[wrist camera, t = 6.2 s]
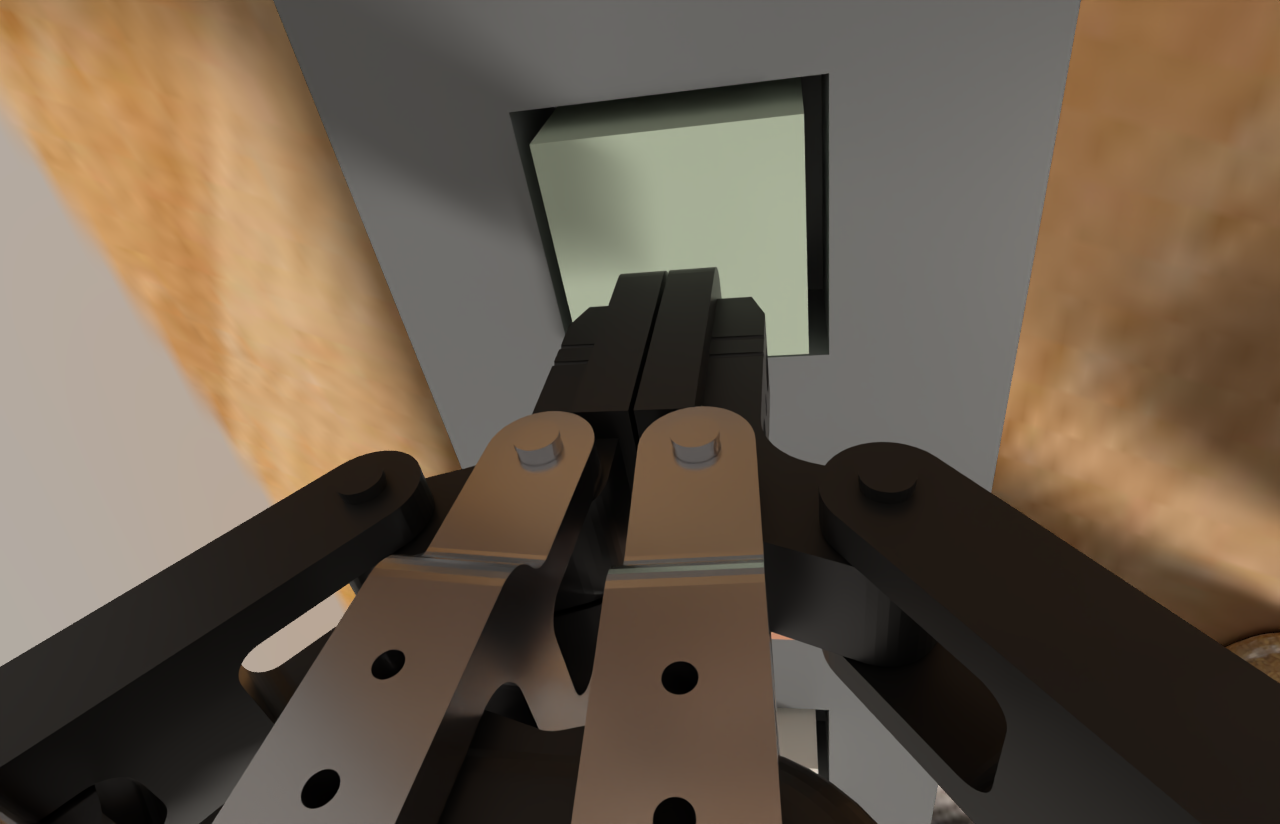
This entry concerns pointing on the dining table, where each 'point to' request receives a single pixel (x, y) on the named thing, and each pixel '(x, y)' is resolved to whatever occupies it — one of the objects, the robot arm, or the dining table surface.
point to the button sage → (683, 195)
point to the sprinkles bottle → (1261, 653)
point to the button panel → (835, 221)
